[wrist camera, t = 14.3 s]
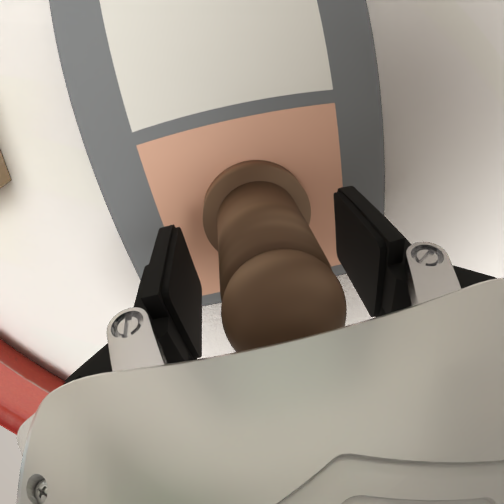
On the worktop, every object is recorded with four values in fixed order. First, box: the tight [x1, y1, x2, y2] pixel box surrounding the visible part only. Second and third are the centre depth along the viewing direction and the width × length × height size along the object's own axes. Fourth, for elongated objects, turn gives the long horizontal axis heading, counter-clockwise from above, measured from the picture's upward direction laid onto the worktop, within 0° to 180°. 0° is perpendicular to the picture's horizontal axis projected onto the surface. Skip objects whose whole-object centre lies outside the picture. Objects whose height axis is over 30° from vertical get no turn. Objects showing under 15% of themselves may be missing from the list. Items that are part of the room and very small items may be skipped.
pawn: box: [203, 160, 346, 352], centre depth 10 cm, size 5×5×8 cm
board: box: [49, 0, 385, 306], centre depth 9 cm, size 13×28×1 cm, turn 11°
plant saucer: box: [0, 339, 65, 435], centre depth 20 cm, size 18×18×3 cm
